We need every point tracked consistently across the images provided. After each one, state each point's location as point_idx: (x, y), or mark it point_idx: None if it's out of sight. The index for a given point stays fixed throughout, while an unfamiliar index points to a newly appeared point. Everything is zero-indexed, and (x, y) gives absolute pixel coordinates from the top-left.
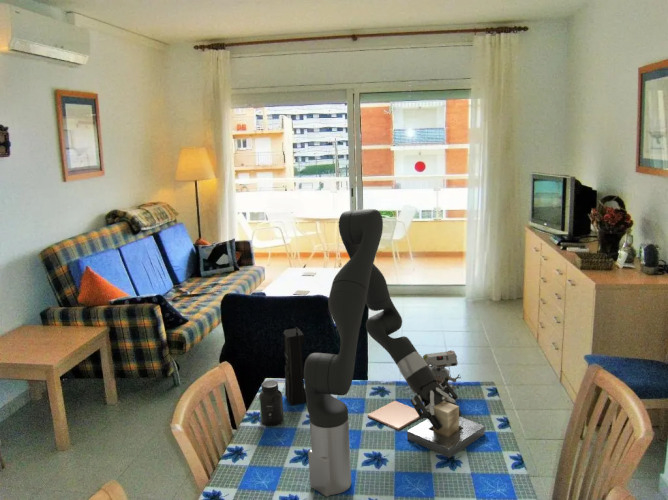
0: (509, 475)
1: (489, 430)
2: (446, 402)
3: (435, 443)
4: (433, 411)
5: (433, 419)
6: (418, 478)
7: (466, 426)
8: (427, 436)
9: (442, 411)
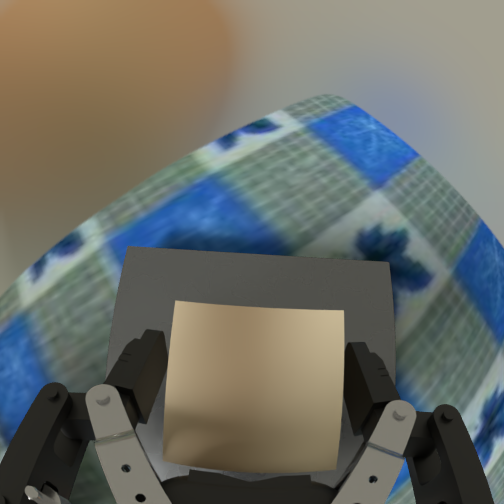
0: (310, 123)
1: (107, 262)
2: (176, 429)
3: (394, 333)
4: (383, 419)
5: (391, 389)
6: (483, 281)
7: (170, 309)
8: None
9: (341, 367)
